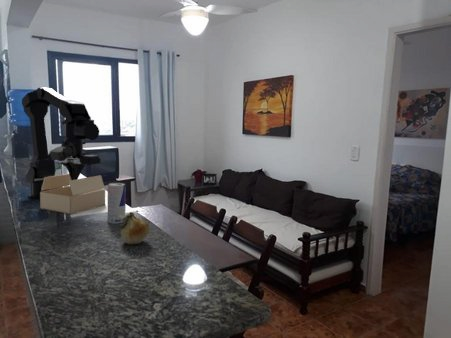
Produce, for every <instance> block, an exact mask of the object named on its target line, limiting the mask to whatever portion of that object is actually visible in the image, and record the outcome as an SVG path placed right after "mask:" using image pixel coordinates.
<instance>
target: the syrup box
mask: <svg viewBox="0 0 451 338" xmlns="http://www.w3.org/2000/svg"><path fill="white" fill-rule="evenodd" d="M60 162H62V161H59V160H55V168H56V169H55V170H56V172H55V176H56V175H63V174H64V170H63V166H64V165H63V164H61V163H60Z"/></svg>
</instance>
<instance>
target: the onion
mask: <svg viewBox="0 0 451 338" xmlns="http://www.w3.org/2000/svg"><path fill="white" fill-rule="evenodd" d="M118 218H119V219H120V221H122V222H123V223H124V224H123V223H122V225H121V227H120V237H121V240H122V241H123V242H124V243H126V244H127V245H136V244H141V243H142V242H143V241H144V240H145V239H146V238H147V237H148V235H149V234H150V230H151V229H150V226H149V223H148V222H147V221H146V220H144V219H142V218H139V217H136V215H135V212H132V211H130V212H129V213H126V214H125V217H123V216H121V215H120V216H119V217H118Z"/></svg>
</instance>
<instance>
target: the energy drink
mask: <svg viewBox="0 0 451 338" xmlns="http://www.w3.org/2000/svg"><path fill="white" fill-rule="evenodd" d="M126 187H127V186H126V184H125V183H123V182H110V183H108V184H107V223H109V224H114V225H117V224H118V225H119V224H123V223H124V222H122V221H120V219H119V218H118V217H119V216H120V215H121V216H123V217H125V216H126V202H127V201H126V200H127V199H126V198H127V197H126V196H127V195H126V194H127V191H126Z"/></svg>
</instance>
